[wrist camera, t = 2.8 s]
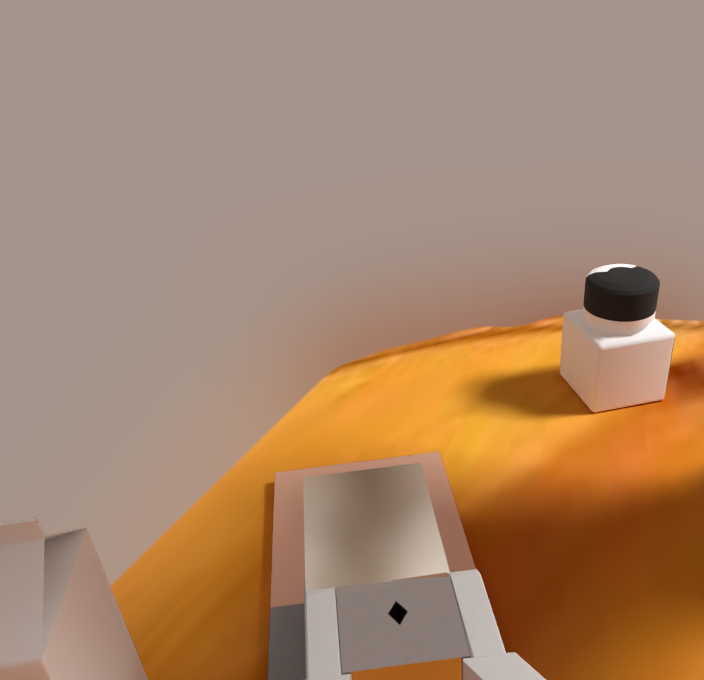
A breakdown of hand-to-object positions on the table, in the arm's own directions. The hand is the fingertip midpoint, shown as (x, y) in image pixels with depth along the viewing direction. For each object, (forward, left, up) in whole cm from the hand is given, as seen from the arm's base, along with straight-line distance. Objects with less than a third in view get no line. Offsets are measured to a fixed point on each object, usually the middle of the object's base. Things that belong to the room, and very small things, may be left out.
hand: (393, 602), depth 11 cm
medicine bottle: (-25, -43, -28) cm, 57 cm away
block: (0, -14, -26) cm, 30 cm away
